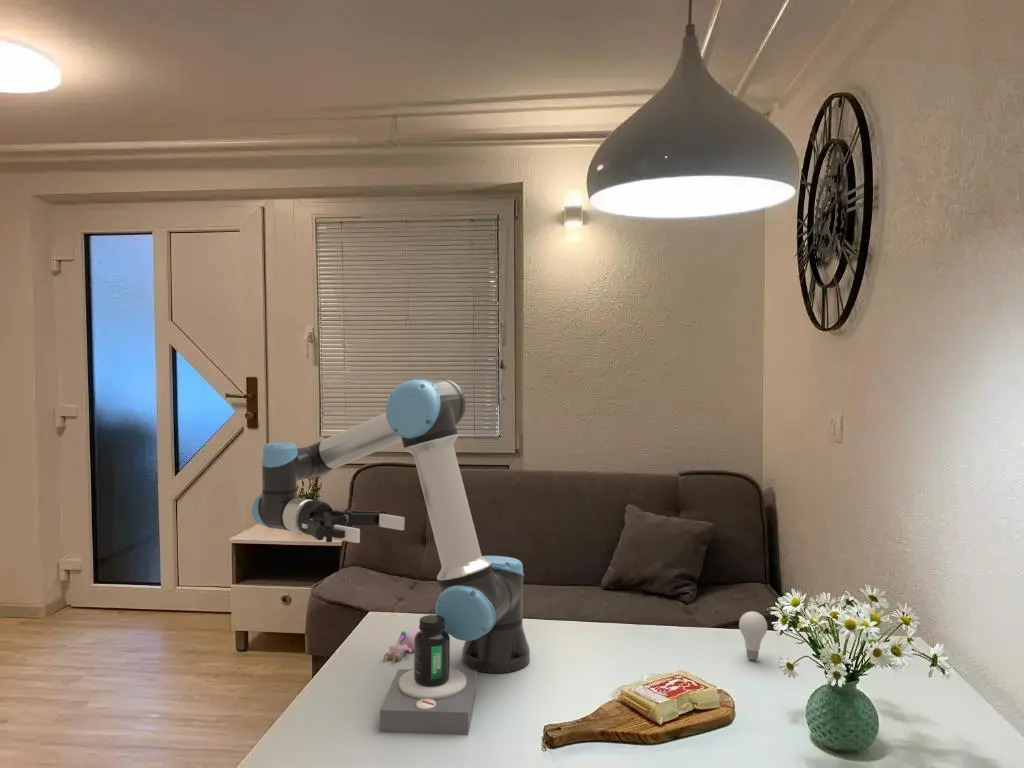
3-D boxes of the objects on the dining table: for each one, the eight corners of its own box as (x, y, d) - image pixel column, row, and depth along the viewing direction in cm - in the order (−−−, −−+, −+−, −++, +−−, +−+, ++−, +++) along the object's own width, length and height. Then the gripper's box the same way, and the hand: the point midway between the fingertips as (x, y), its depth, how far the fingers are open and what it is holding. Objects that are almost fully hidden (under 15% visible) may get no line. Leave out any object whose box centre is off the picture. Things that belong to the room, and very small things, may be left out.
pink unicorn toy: (401, 671, 166) (436, 638, 179) (398, 646, 165) (434, 615, 178) (377, 666, 169) (414, 634, 182) (375, 641, 168) (412, 611, 181)
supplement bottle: (444, 689, 143) (444, 626, 142) (409, 686, 144) (409, 623, 144) (453, 674, 150) (453, 614, 149) (419, 671, 151) (420, 611, 150)
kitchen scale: (398, 688, 154) (398, 664, 154) (476, 690, 154) (476, 666, 154) (379, 731, 136) (379, 704, 136) (468, 734, 136) (468, 707, 136)
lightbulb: (750, 652, 176) (751, 606, 175) (772, 661, 171) (773, 613, 170) (732, 658, 172) (733, 610, 172) (754, 667, 167) (755, 618, 167)
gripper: (349, 523, 178) (420, 536, 167) (263, 545, 157) (337, 560, 145) (349, 492, 178) (420, 502, 166) (263, 509, 156) (337, 522, 145)
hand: (381, 529), depth 156 cm, fingers open, 13 cm apart
